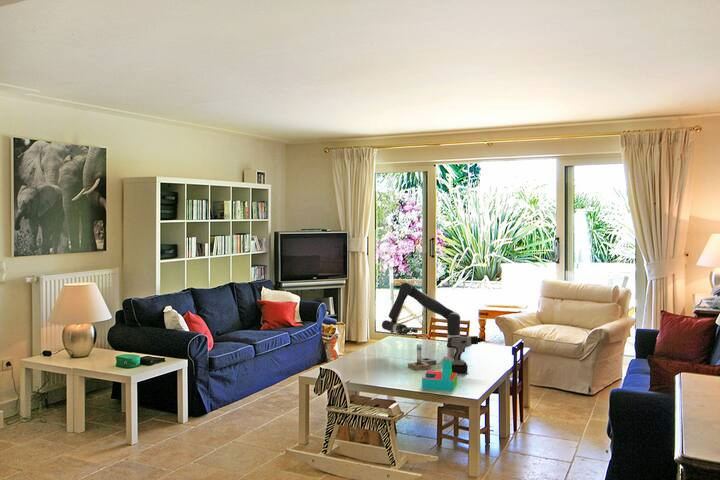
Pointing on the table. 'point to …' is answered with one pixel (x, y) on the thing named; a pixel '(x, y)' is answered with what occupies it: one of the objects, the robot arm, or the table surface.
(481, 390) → the table surface
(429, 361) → the grey flat square frame
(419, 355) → the clear test tube
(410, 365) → the rack block
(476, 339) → the cordless drill
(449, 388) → the building blocks toy
